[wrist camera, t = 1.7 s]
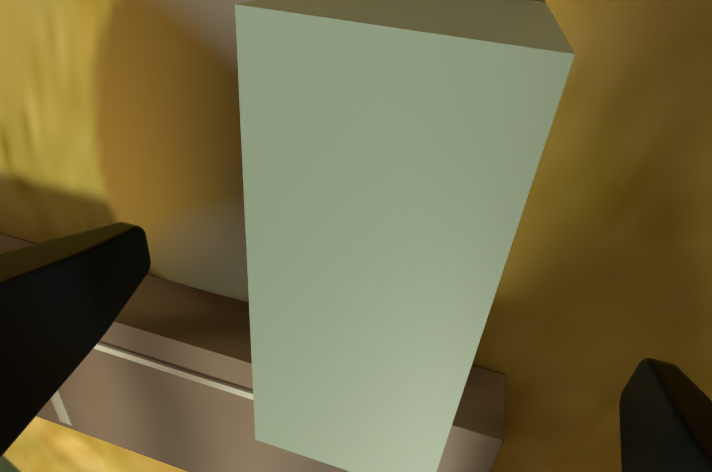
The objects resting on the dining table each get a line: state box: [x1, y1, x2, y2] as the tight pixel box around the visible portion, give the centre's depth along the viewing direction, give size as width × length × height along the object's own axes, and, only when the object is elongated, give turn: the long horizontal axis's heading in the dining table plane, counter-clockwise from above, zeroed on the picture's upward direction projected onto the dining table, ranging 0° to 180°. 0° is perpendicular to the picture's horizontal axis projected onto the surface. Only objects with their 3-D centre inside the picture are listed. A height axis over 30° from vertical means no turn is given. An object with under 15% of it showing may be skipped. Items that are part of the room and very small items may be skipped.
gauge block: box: [235, 0, 575, 472], centre depth 10 cm, size 4×9×6 cm, turn 176°
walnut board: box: [0, 234, 505, 472], centre depth 18 cm, size 22×8×3 cm, turn 86°
